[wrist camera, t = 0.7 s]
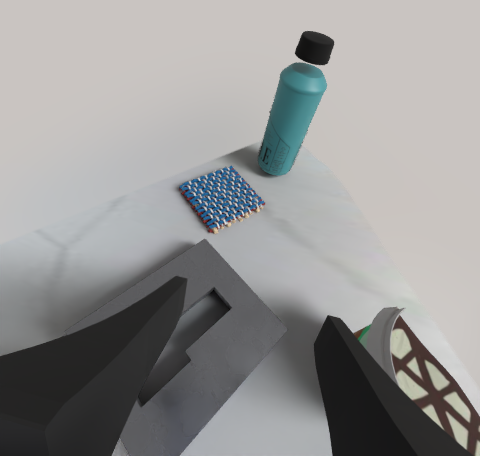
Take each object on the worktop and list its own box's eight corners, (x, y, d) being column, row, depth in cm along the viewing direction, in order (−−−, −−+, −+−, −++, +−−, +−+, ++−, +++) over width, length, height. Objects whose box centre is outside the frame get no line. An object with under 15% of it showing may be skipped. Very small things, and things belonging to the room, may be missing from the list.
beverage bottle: (295, 173, 42) (358, 43, 26) (272, 188, 39) (327, 50, 23) (270, 154, 44) (314, 22, 28) (247, 166, 41) (280, 26, 25)
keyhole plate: (155, 476, 18) (148, 491, 16) (79, 336, 23) (64, 331, 20) (279, 333, 26) (288, 329, 23) (204, 249, 30) (204, 238, 28)
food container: (301, 348, 25) (350, 334, 17) (340, 324, 28) (400, 302, 19) (377, 488, 20) (503, 566, 12) (418, 444, 22) (547, 483, 14)
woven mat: (266, 210, 37) (270, 202, 35) (211, 238, 32) (212, 231, 30) (230, 170, 41) (232, 161, 39) (177, 190, 36) (176, 181, 34)
